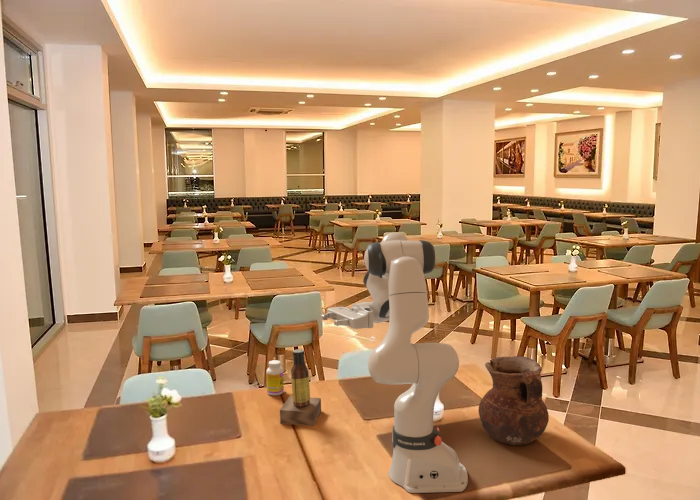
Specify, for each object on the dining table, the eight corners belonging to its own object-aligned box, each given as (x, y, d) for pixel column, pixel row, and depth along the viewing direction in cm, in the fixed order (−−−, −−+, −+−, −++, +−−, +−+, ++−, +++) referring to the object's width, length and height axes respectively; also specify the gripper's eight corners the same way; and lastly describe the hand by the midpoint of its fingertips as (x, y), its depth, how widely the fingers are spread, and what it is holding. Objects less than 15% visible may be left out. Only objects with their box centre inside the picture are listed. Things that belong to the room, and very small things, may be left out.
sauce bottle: (313, 402, 195) (312, 349, 192) (303, 409, 189) (301, 354, 187) (299, 399, 198) (297, 346, 195) (288, 405, 193) (286, 351, 190)
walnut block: (321, 410, 199) (320, 398, 199) (313, 425, 188) (313, 412, 187) (289, 409, 201) (289, 396, 201) (280, 423, 190) (279, 410, 189)
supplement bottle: (282, 396, 213) (281, 364, 212) (265, 396, 213) (264, 365, 212) (284, 389, 220) (283, 359, 218) (268, 389, 220) (267, 359, 218)
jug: (466, 436, 178) (467, 364, 175) (496, 415, 193) (498, 348, 190) (530, 460, 163) (533, 381, 160) (558, 435, 178) (561, 362, 175)
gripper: (345, 301, 212) (314, 306, 204) (375, 312, 195) (342, 317, 187) (345, 316, 213) (315, 322, 205) (375, 328, 195) (343, 335, 188)
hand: (328, 320), depth 196 cm, fingers open, 8 cm apart
